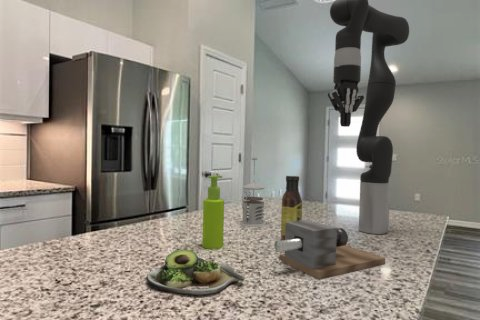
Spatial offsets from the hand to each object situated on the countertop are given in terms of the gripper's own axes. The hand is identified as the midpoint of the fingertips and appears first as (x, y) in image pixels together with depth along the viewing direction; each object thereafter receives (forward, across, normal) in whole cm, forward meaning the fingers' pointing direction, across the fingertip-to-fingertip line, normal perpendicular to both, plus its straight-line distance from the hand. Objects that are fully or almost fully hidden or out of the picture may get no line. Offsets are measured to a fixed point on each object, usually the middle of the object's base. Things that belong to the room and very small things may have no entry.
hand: (345, 126), depth 100 cm
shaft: (+31, +21, +10) cm, 39 cm away
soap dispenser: (+35, +34, -16) cm, 51 cm away
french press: (+35, +9, -35) cm, 50 cm away
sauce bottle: (+35, +10, -11) cm, 38 cm away
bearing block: (+35, +14, +10) cm, 39 cm away
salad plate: (+36, +49, +4) cm, 61 cm away
